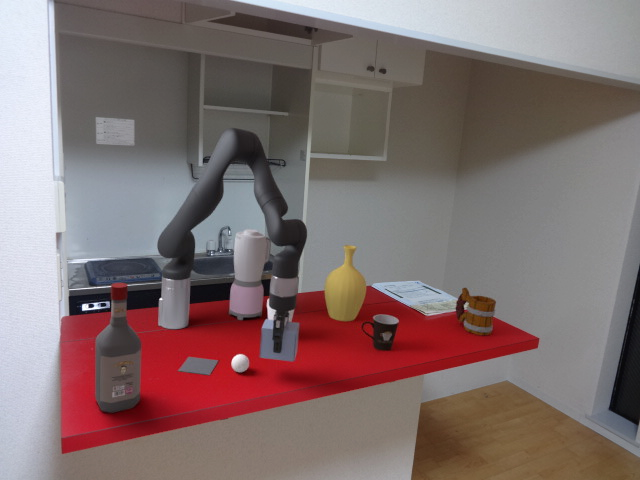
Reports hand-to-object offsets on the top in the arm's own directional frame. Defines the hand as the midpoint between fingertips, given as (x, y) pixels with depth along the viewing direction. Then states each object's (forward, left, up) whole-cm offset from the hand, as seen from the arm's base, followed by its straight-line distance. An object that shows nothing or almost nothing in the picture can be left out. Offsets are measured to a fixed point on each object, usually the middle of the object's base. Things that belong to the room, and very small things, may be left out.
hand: (279, 346), depth 141 cm
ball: (-11, 0, -6) cm, 12 cm away
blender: (-18, +45, -9) cm, 49 cm away
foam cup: (-4, +27, -9) cm, 29 cm away
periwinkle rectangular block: (0, 0, -2) cm, 2 cm away
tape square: (-23, 0, -9) cm, 24 cm away
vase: (+17, +54, -9) cm, 57 cm away
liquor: (-36, -23, -9) cm, 43 cm away
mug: (+68, +58, -9) cm, 90 cm away
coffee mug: (+30, +30, -9) cm, 44 cm away
